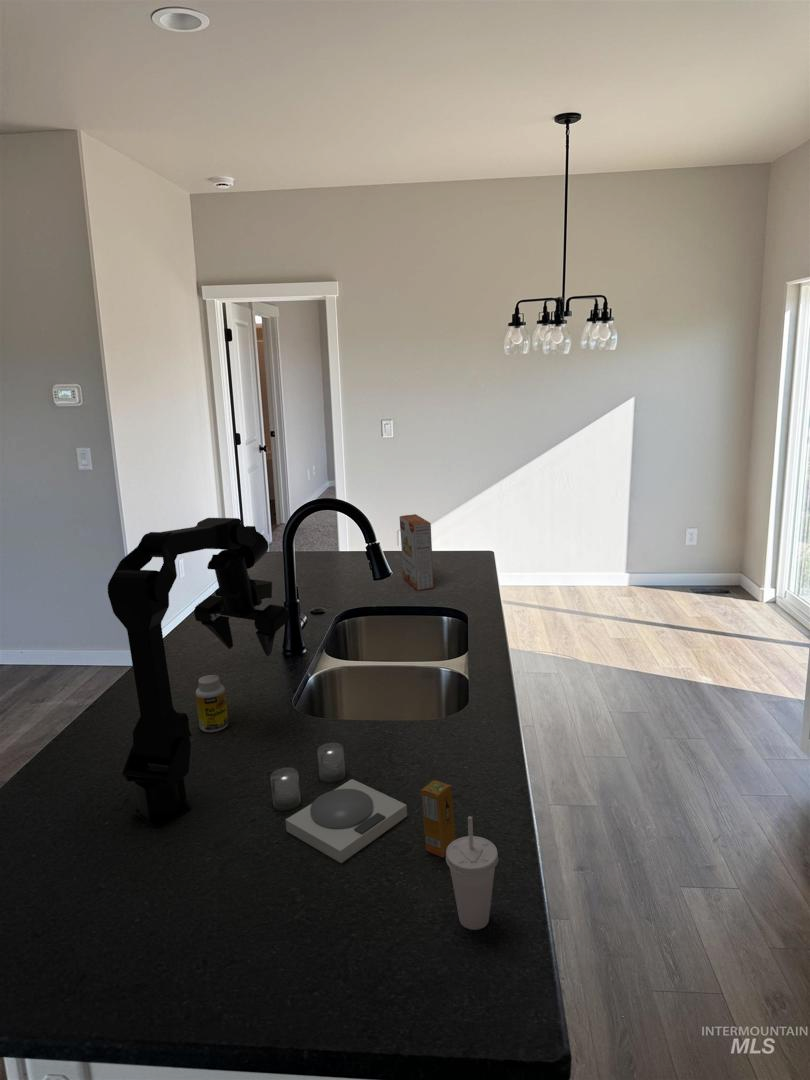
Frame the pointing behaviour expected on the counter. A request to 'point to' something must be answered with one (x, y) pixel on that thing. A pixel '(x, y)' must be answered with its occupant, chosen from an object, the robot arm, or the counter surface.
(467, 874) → the smoothie
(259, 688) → the counter surface
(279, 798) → the spacer
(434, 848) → the supplement box
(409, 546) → the cracker box
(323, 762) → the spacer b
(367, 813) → the scale
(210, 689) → the supplement bottle
